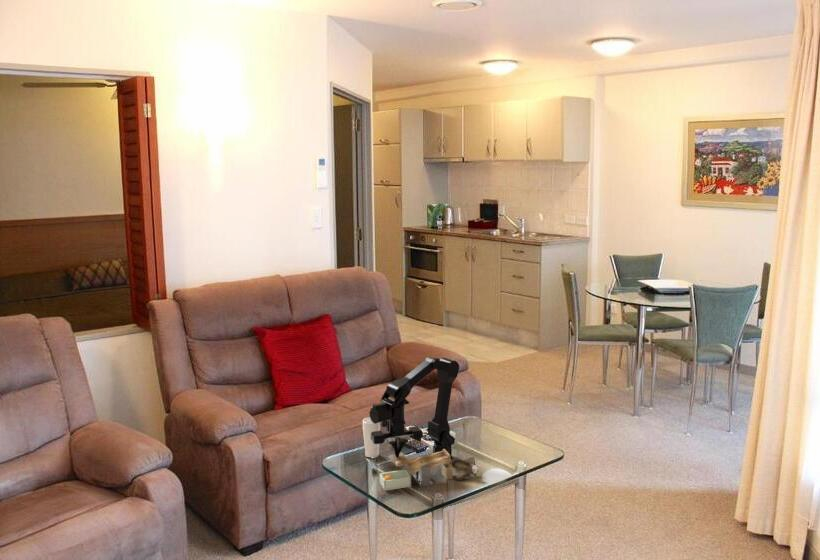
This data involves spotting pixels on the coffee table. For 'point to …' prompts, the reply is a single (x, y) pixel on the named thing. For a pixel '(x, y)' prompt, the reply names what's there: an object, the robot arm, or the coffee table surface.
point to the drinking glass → (368, 428)
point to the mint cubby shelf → (395, 480)
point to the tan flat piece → (421, 460)
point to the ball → (388, 477)
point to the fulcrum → (424, 474)
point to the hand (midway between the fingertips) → (396, 456)
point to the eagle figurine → (466, 467)
